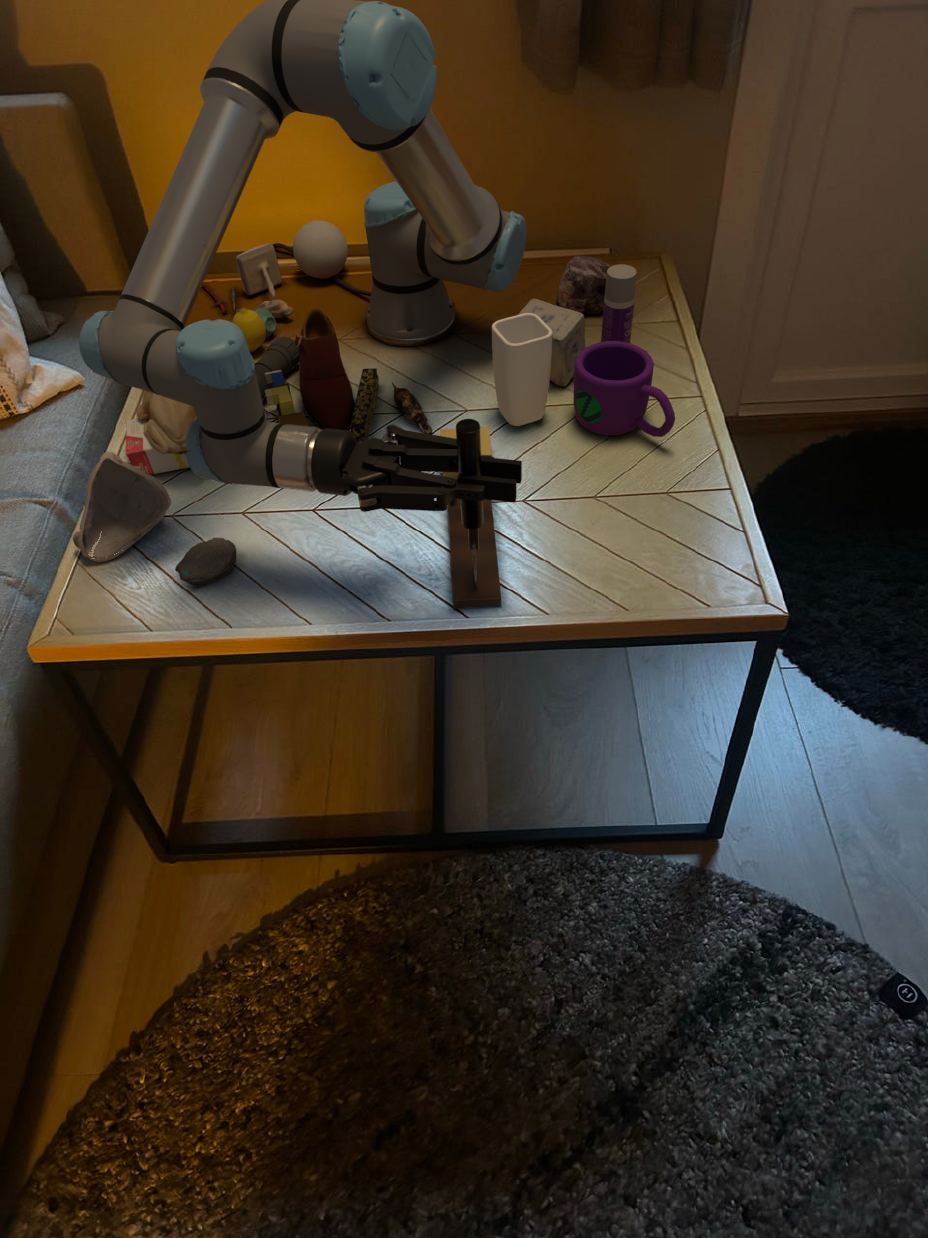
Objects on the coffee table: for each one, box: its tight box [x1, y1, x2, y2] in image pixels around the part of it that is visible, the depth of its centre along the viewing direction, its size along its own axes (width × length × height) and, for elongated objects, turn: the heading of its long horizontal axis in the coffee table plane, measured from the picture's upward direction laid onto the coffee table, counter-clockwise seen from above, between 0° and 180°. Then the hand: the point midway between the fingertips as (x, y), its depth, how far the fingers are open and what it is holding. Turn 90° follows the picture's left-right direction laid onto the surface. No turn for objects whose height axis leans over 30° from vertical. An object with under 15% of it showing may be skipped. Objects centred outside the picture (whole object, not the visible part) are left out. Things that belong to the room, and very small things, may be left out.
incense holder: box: [517, 298, 586, 387], centre depth 144 cm, size 10×8×10 cm
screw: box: [255, 308, 278, 339], centre depth 159 cm, size 9×5×5 cm, turn 57°
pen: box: [231, 287, 237, 317], centre depth 166 cm, size 14×1×1 cm
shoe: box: [294, 307, 355, 431], centre depth 143 cm, size 8×24×10 cm, turn 13°
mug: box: [573, 341, 676, 438], centre depth 134 cm, size 17×11×10 cm, turn 42°
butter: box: [439, 425, 493, 479], centre depth 129 cm, size 6×7×4 cm
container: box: [600, 263, 638, 343], centre depth 144 cm, size 5×5×15 cm
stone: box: [174, 537, 237, 587], centre depth 120 cm, size 7×8×2 cm
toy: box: [265, 370, 309, 426], centre depth 137 cm, size 8×5×15 cm
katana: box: [201, 284, 228, 314], centre depth 168 cm, size 13×2×1 cm, turn 34°
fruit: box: [231, 307, 266, 353], centre depth 153 cm, size 6×6×8 cm
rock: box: [554, 255, 612, 315], centre depth 157 cm, size 12×9×10 cm
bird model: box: [391, 382, 433, 435], centre depth 140 cm, size 3×14×3 cm, turn 23°
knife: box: [455, 418, 484, 587], centre depth 107 cm, size 4×3×23 cm, turn 3°
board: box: [447, 479, 502, 610], centre depth 124 cm, size 31×6×2 cm, turn 3°
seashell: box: [72, 450, 172, 563], centre depth 124 cm, size 12×14×10 cm
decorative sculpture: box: [235, 243, 294, 319], centre depth 163 cm, size 16×10×7 cm, turn 17°
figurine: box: [136, 390, 197, 455], centre depth 131 cm, size 12×17×10 cm
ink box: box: [125, 417, 190, 476], centre depth 136 cm, size 9×5×12 cm
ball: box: [292, 219, 349, 280], centre depth 169 cm, size 10×10×10 cm
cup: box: [491, 313, 552, 427], centre depth 134 cm, size 7×7×15 cm
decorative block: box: [349, 367, 380, 439], centre depth 141 cm, size 15×2×4 cm, turn 177°
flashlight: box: [254, 336, 299, 402], centre depth 147 cm, size 15×5×5 cm, turn 157°
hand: (518, 481), depth 102 cm, fingers closed on knife, 3 cm apart
